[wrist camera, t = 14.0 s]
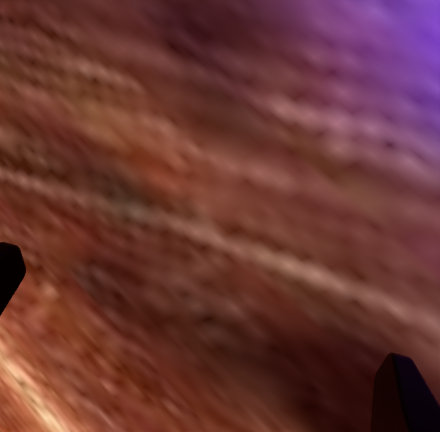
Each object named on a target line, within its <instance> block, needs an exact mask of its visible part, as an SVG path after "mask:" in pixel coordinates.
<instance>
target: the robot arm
mask: <svg viewBox="0 0 440 432" xmlns="http://www.w3.org/2000/svg"><path fill="white" fill-rule="evenodd" d="M25 273H26V266H25V263H24V260H23V257H22V253H21V250H20V248H19V247H18V246H16V245H13V244H10V243H6V242H0V316H1V314H2V312H3V311H4V309H5V308H6V306H7V304H8V303H9V301H10V299H11V298H12V296H13V295H14V293H15V291H16V290H17V288H18V286H19V285H20V283H21V282H22V280H23V278H24V276H25ZM371 432H440V406H439V404H438V403H437V401H436V399H435V398H434V396H433V394H432V393H431V391H430V389H429V387H428V386H427V384H426V382H425V381H424V379H423V377H422V376H421V374H420V372H419V371H418V369H417V367H416V365H415V364H414V362H413V361H412V360H411V359H410V358H409V357H407V356H403V355H400V354H396V353H390V354H388V355H387V357H386V358H385V360H384V362H383V363H382V365H381V366H380V368H379V369H378V371H377V373H376V375H375V380H374V390H373V404H372V418H371Z"/></svg>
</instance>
